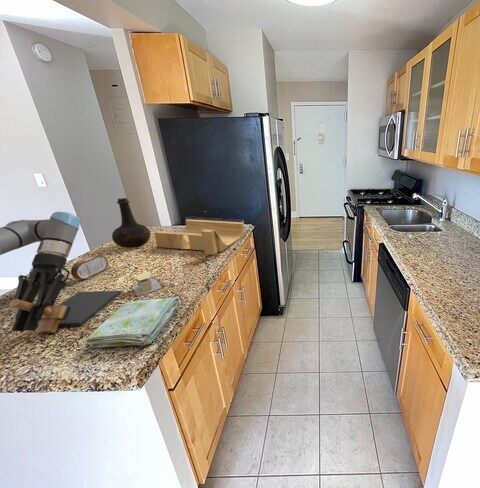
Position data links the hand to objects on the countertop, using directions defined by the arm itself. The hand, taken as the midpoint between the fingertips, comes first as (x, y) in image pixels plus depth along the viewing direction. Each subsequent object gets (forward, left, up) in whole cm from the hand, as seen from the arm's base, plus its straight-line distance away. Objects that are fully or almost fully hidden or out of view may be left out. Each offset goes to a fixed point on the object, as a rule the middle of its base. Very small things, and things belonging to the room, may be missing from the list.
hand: (23, 330), depth 77 cm
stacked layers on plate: (+16, +33, -6) cm, 37 cm away
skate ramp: (+20, +83, -6) cm, 86 cm away
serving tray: (0, +19, -6) cm, 19 cm away
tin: (-15, +46, -6) cm, 48 cm away
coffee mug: (-22, +35, -6) cm, 41 cm away
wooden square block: (0, +7, -4) cm, 8 cm away
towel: (+28, +7, -6) cm, 29 cm away
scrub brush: (0, +10, -2) cm, 10 cm away
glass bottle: (-18, +82, -6) cm, 84 cm away
